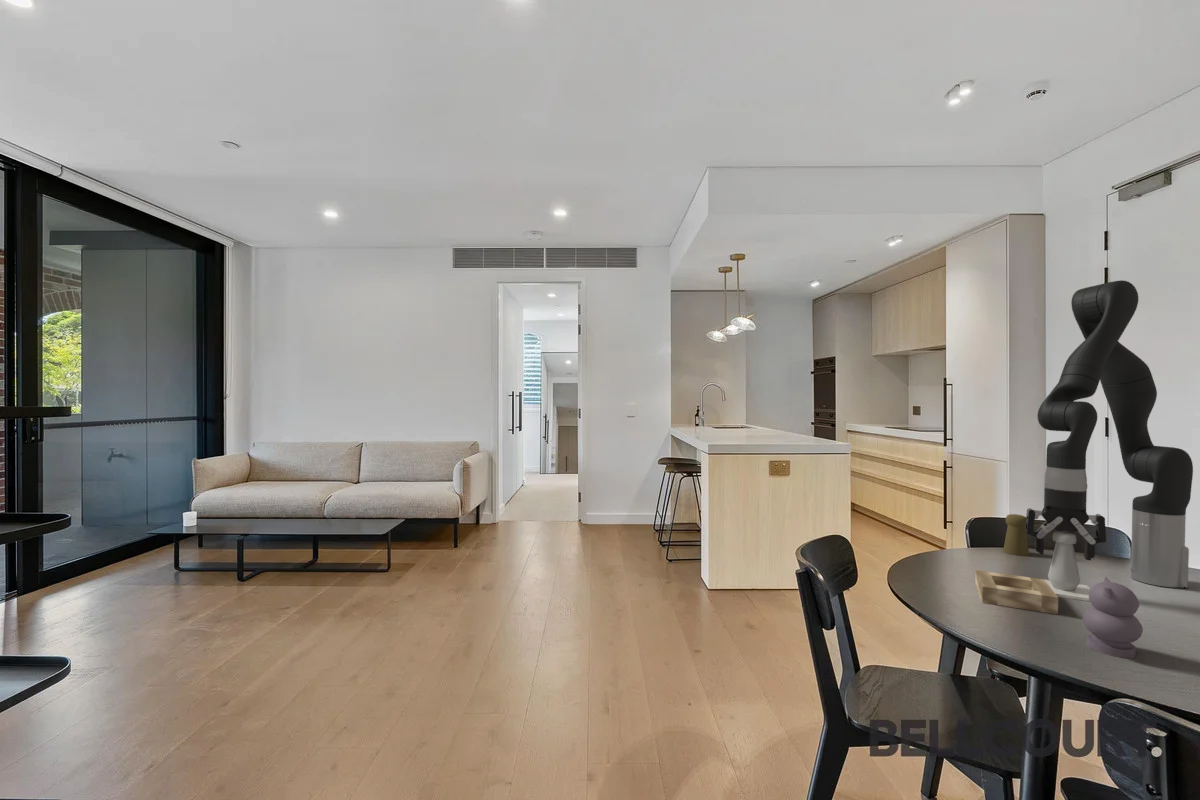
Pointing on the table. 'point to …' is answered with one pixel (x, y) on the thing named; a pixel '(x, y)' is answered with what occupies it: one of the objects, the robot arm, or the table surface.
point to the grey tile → (1072, 592)
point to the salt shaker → (1064, 562)
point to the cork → (1016, 536)
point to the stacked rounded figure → (1112, 619)
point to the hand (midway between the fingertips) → (1063, 556)
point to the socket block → (1016, 591)
